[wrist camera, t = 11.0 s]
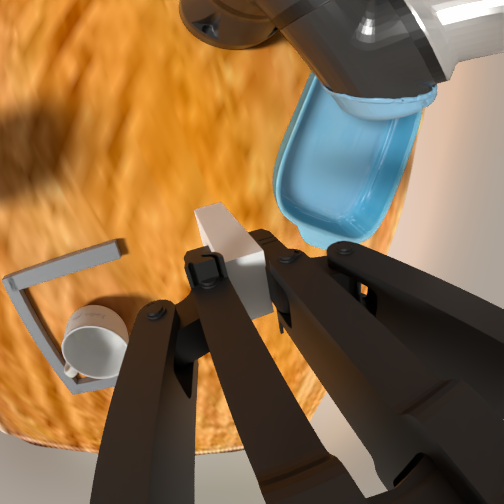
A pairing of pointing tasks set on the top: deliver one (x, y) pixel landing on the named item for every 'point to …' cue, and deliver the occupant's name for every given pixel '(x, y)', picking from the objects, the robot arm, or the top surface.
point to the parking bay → (18, 297)
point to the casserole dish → (339, 168)
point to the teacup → (94, 343)
